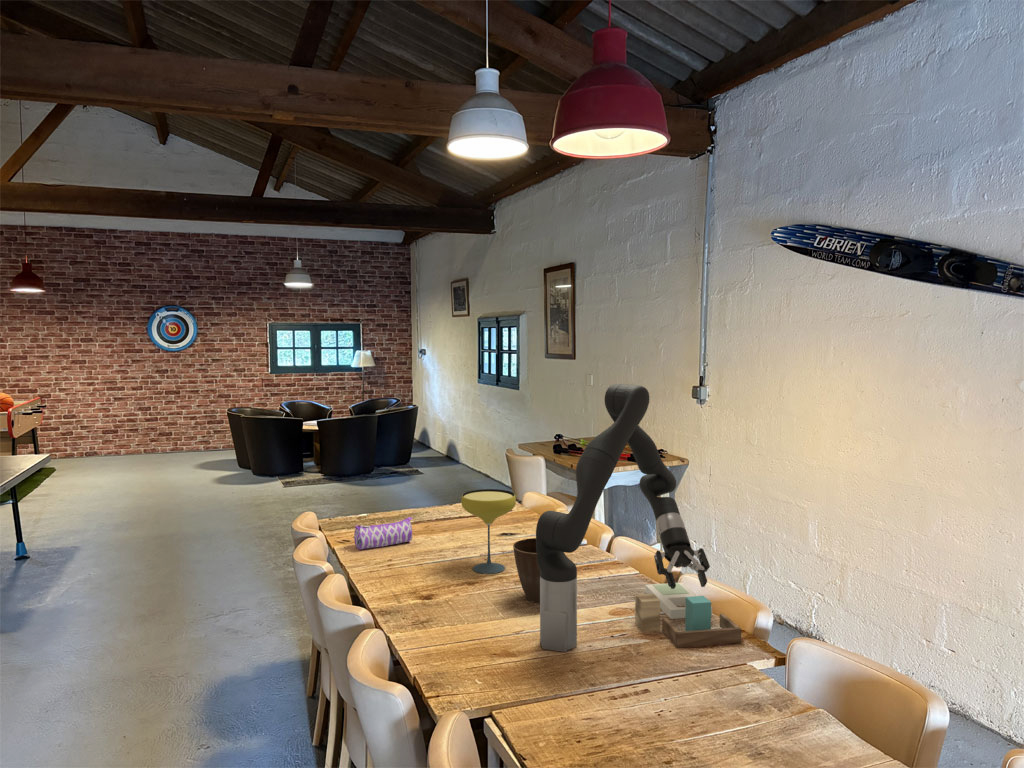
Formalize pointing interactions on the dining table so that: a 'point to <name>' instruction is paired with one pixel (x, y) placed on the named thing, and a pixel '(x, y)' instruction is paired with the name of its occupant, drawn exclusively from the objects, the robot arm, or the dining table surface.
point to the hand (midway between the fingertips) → (689, 586)
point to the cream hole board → (671, 598)
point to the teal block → (697, 613)
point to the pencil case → (383, 534)
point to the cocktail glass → (488, 516)
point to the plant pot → (528, 568)
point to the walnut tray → (703, 634)
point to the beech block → (647, 612)
